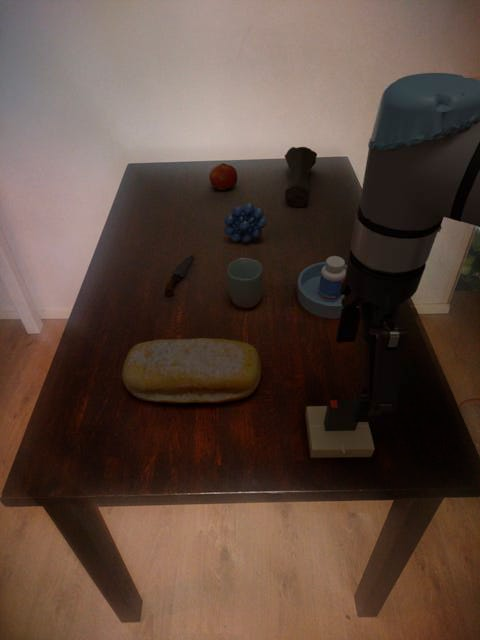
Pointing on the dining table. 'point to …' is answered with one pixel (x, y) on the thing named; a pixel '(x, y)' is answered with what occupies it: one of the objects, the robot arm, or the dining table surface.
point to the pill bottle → (332, 279)
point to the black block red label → (341, 415)
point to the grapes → (245, 223)
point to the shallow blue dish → (316, 293)
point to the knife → (178, 275)
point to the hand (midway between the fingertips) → (354, 376)
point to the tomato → (223, 176)
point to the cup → (245, 282)
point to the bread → (192, 370)
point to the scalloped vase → (299, 175)
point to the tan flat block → (336, 437)
